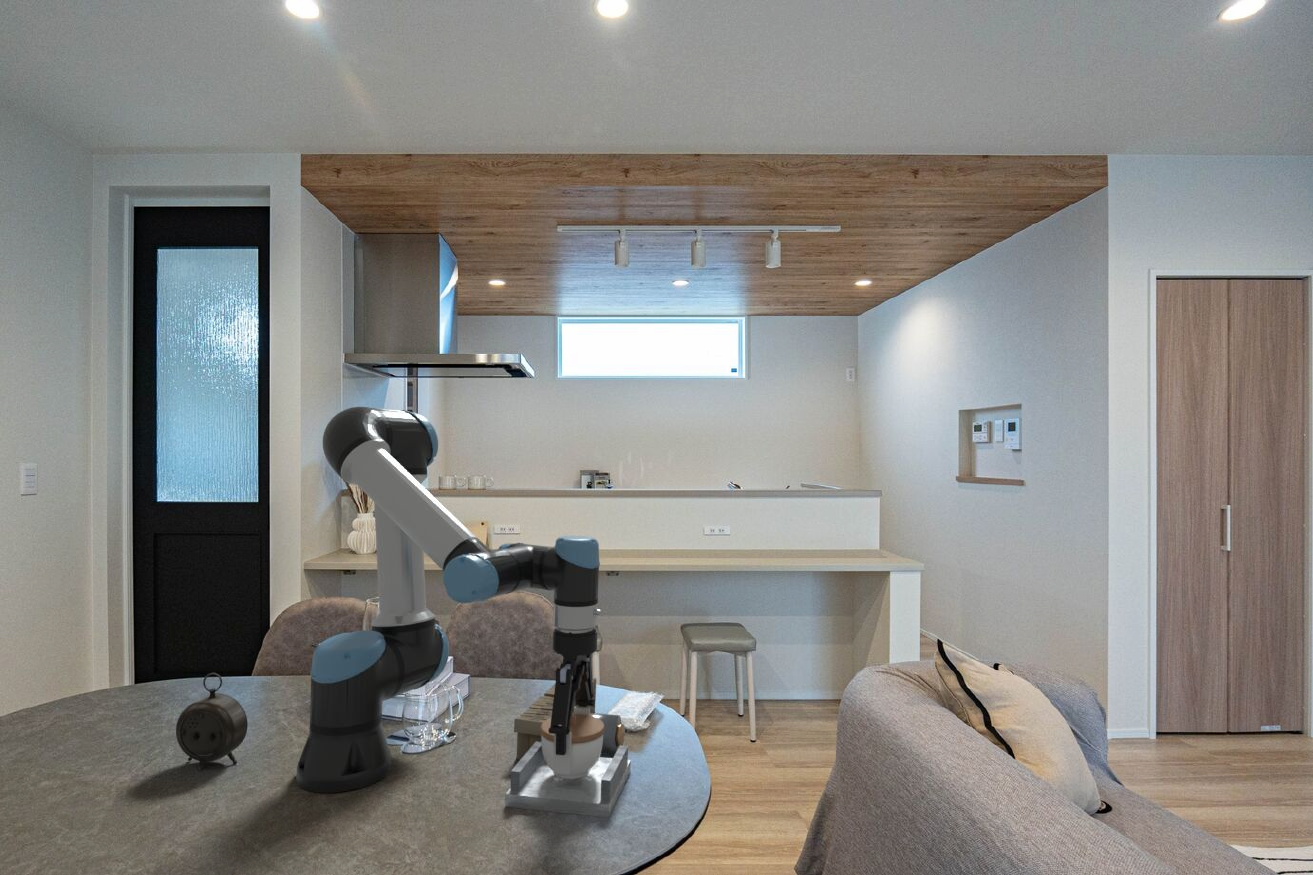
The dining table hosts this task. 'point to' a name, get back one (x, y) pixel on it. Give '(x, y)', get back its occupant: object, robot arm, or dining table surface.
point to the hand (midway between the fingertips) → (571, 757)
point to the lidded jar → (576, 744)
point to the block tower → (537, 720)
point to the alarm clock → (211, 727)
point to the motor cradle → (573, 796)
